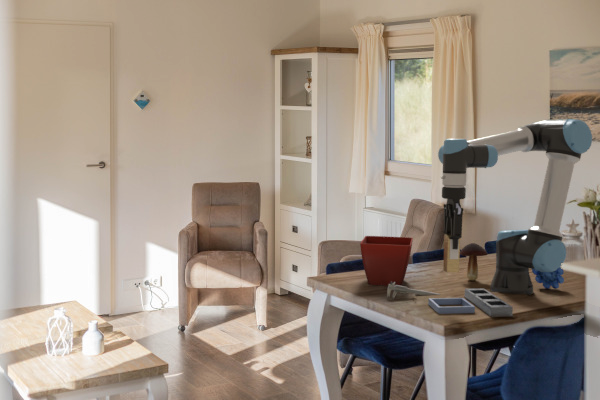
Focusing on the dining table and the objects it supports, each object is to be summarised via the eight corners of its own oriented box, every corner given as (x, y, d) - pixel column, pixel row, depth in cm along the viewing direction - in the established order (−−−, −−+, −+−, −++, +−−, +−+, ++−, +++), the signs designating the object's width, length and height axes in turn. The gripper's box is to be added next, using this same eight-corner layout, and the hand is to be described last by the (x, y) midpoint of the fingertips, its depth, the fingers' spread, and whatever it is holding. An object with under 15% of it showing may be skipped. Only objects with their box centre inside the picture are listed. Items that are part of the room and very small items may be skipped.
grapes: (529, 289, 265) (530, 257, 264) (532, 285, 271) (533, 255, 270) (562, 292, 259) (563, 260, 258) (564, 289, 265) (565, 257, 264)
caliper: (387, 299, 250) (387, 281, 249) (386, 298, 251) (387, 281, 251) (443, 298, 252) (444, 280, 251) (442, 297, 253) (443, 280, 252)
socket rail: (464, 299, 248) (464, 288, 248) (483, 299, 249) (484, 288, 248) (490, 319, 222) (491, 307, 222) (512, 319, 223) (512, 306, 222)
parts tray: (462, 306, 239) (463, 297, 238) (474, 315, 227) (474, 306, 227) (428, 307, 238) (428, 298, 237) (438, 316, 226) (438, 307, 225)
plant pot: (409, 289, 265) (410, 244, 263) (359, 286, 268) (359, 243, 267) (412, 278, 283) (412, 237, 282) (364, 276, 287) (365, 235, 285)
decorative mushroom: (455, 281, 278) (456, 244, 276) (462, 276, 287) (463, 240, 286) (483, 284, 273) (484, 246, 271) (489, 279, 282) (490, 242, 281)
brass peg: (455, 270, 233) (456, 234, 232) (458, 272, 229) (460, 235, 228) (443, 270, 233) (444, 234, 231) (446, 272, 229) (448, 235, 227)
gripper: (435, 184, 236) (433, 253, 238) (450, 188, 219) (448, 262, 222) (457, 184, 237) (454, 253, 239) (473, 188, 220) (471, 262, 222)
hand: (451, 257), depth 230 cm, fingers closed on brass peg, 4 cm apart
